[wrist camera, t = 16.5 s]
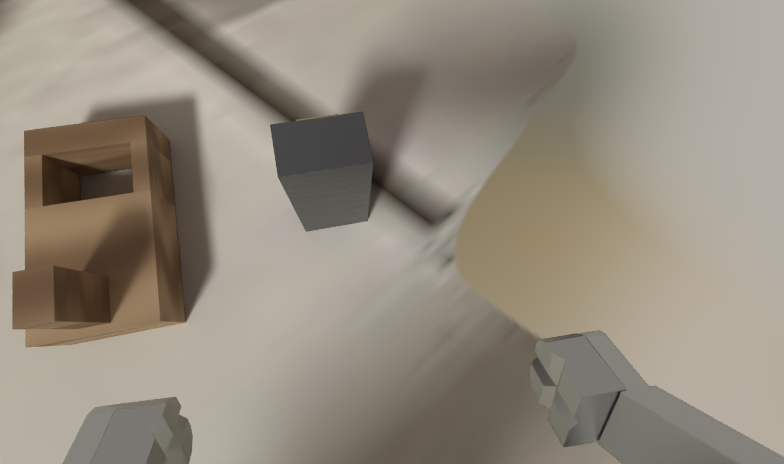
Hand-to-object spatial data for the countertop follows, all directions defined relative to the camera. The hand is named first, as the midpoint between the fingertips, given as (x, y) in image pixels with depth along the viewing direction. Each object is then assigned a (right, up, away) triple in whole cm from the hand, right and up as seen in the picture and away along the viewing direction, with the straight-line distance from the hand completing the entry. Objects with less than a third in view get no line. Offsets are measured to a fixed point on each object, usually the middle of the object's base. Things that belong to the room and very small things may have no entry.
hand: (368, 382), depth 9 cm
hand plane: (-20, +3, +22) cm, 30 cm away
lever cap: (-4, +5, +24) cm, 25 cm away
